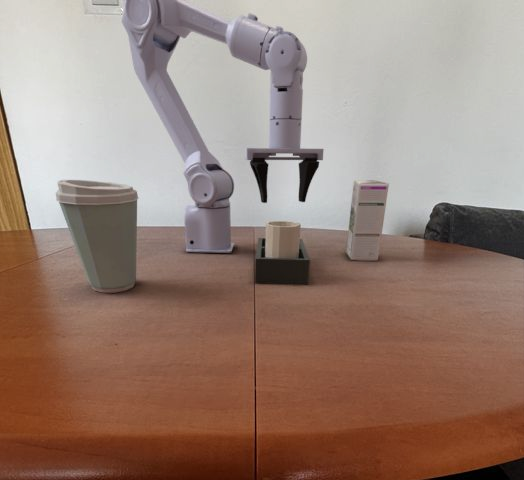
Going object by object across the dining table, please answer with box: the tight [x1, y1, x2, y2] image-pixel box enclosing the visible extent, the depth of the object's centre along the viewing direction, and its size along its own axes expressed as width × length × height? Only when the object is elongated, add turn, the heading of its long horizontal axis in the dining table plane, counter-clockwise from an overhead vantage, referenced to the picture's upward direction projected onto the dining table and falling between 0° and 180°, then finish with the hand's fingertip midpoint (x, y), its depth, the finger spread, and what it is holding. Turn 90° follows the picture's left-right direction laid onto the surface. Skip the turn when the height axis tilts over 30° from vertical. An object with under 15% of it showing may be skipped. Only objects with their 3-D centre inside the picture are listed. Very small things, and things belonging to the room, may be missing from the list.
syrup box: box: [345, 179, 390, 262], centre depth 75 cm, size 6×6×14 cm
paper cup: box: [265, 220, 301, 258], centre depth 63 cm, size 6×6×8 cm
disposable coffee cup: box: [55, 179, 139, 294], centre depth 55 cm, size 11×11×15 cm
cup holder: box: [254, 237, 311, 285], centre depth 68 cm, size 9×16×4 cm, turn 179°
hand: (283, 202), depth 73 cm, fingers open, 7 cm apart
